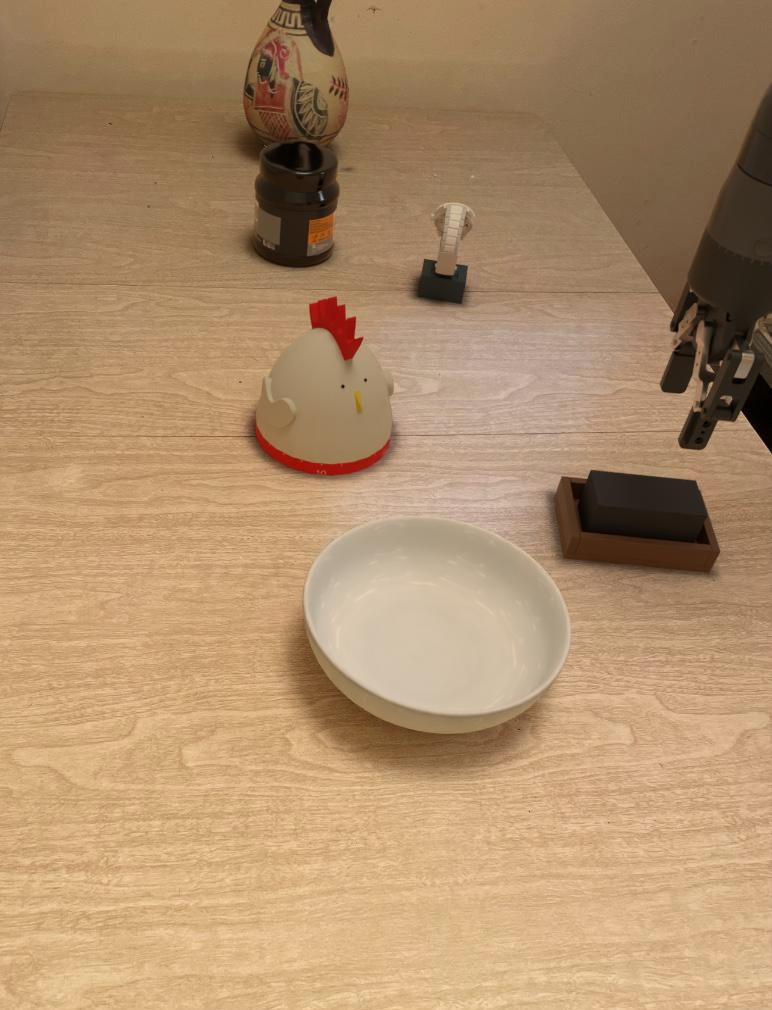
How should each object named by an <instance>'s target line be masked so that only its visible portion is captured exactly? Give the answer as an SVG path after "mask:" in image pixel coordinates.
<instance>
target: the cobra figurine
mask: <svg viewBox="0 0 772 1010" xmlns="http://www.w3.org/2000/svg"><path fill="white" fill-rule="evenodd" d="M430 221H433V223H434V226H435V229H436V233H437V237H438V238H440V243H439V247H438V248H439V249H438V254H437V260H435V259H428V258H423V263H422V268H421V272H420V279H419V284H418V290H417V297H416V298H423V299H428V300H434V301H440V302H447V303H453V304H459V305H462V304H463V299H464V294H465V289H466V284H467V278H468V269H469V265H466V264H459V263H457V262H458V258H459V253H458V252H459V251H458V250H459V247H460V242H461V241H464V239H465V238H466V236H467V235H468V234H469V233H470V232H471V231H472V230H473V228H474V225H475V222H476V214H475V212H474V211H473V209H472V208H471V207H469V206H468V205H466V204H463V203H460V202H446V203H442V204H441V205H439V206H438V207H436V208H435V211H434V213H431V214H430Z"/></svg>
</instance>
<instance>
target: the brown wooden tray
mask: <svg viewBox="0 0 772 1010" xmlns="http://www.w3.org/2000/svg"><path fill="white" fill-rule="evenodd" d="M586 481H587V478H586V477H585V478H584V477H576V476H575V477H574V476H565V475H561V477H560V479H559V482H558V486H557V488H556V491H555V493H554V497H553V499H554V505H555V511H556V518H557V523H558V529H559V530H558V531H559V535H560V541H561V547H562V548H561V549H562V553H563V558H564V559H568V560H579V561H586V562H587V561H589V562H597V563H598V562H599V563H607V564H608V563H610V564H619V565H626V566H627V565H628V566H638V567H647V568H648V567H649V568H657V569H668V570H678V571H688V572H698V573H708V574H709V573H710V572H711V571H712V569H713V567H714V565H715V563H716V562H717V559H718V557H719V556H720V554H721V549H720V545H719V543H718V539H717V536H716V532H715V530H714V527H713V524H712V521H711V518H710V514H709V511H708V509H707V505H706V502H705V500H704V496H703V493H702V491H701V489H699V491H700V494H701V497H702V500H703V503H704V506H705V509H706V512H707V515H708V516H707V518H706V520H705V522H704V524H703V526H702V528H701V530H700V532H699V534H698V536H697V538H696V540H695V542H694V543H686V542H676V541H667V540H657V539H647V538H637V537H627V536H617V535H607V534H597V533H588V532H582V527H581V522H580V516H579V511H578V506H577V505H578V503H579V500H580V497H581V495H582V492H583V489H584V486H585V484H586Z"/></svg>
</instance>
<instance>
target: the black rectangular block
mask: <svg viewBox="0 0 772 1010" xmlns="http://www.w3.org/2000/svg"><path fill="white" fill-rule="evenodd" d="M586 479H587V481H586V484H585V486H584V489H583V492H582V495H581V497H580V500H579V503H578V505H577V506H578V511H579V516H580V522H581V527H582V532H588V533H597V534H607V535H617V536H627V537H637V538H647V539H657V540H667V541H676V542H686V543H694V542H695V540H696V538H697V536H698V534H699V532H700V530H701V528H702V526H703V524H704V522H705V520H706V518H707V516H708V515H709V514H708V515H707V512H708V511H707V512H706V509H705V506H704V503H703V500H702V497H701V494H700V491H699V490H700V488H699V485H698V482H697V480H695V479H686V478H676V477H675V478H674V477H668V476H667V477H666V476H655V475H647V474H637V473H626V472H617V471H608V470H607V471H606V470H596V469H590V471H589V473H588V476H587V478H586Z"/></svg>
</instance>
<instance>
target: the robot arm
mask: <svg viewBox="0 0 772 1010" xmlns="http://www.w3.org/2000/svg"><path fill="white" fill-rule="evenodd" d="M740 145H741V146H740V148H739V151H738V153H737V156H736V159H735V160H734V164H732V167H731V169H730V171H729V172H728V174H727V176H726V178H725V180H724V181H723V183H722V186H721V187H720V190H719V192H718V194H717V197H716V200H715V202H714V205H713V208H712V210H711V212H710V215H709V217H708V219H707V220H708V221H707V223H706V225H705V227H704V231H703V232H702V236H701V238H700V241H699V242H698V246H697V248H696V251H695V254H694V256H693V259H692V261H691V264H690V266H689V269H688V272H687V278H686V279H687V280H686V283H685V285H684V287H683V290H682V292H681V296H680V297H679V300H678V303H677V306H676V308H675V310H674V313H673V315H672V318H671V321H670V323H669V331H670V333H675V334H674V335H673V337H672V339H671V344H670V346H671V350H672V352H671V354H670V357H669V359H668V362H667V365H666V367H665V369H664V372H663V374H662V376H661V379H660V382H659V387H660V390H661V392H663V393H668V394H676V395H677V394H678V395H681V394H684V393H685V392H686V391H687V390H688V387H689V384H690V382H691V380H692V379H693V381H695V382H696V388H695V393H694V400H693V404H692V405H691V408H690V410H689V412H688V415H687V417H686V419H685V422H684V424H683V427H682V428H681V431H680V433H679V435H678V437H677V442H678V445H679V447H680V449H683V450H693V451H702V450H704V449H706V447H707V445H708V443H709V442H710V439H711V437H712V435H713V433H714V431H715V429H716V426H717V425H718V422H719V421H720V422H729V423H735V422H736V421H737V420H738V418H739V415H740V413H741V412H742V409H743V407H744V405H745V403H746V401H747V399H748V397H749V395H750V393H751V391H752V389H753V386H754V384H755V383H756V381H757V378H758V376H759V374H760V372H761V370H762V368H763V366H764V363H765V358H766V355H765V352H764V351H754V350H752V349H751V346H752V344H753V338H754V333H755V330H756V325H757V322H758V321H760V320H761V319H762V318H764V317H767V316H768V315H770V314H772V80H771V81H769V83H768V84H767V86H766V87H765V89H764V90H763V93H762V94H761V97H760V98H759V101H758V103H757V105H756V108H755V110H754V113H753V115H752V117H751V120H750V123H749V125H748V127H747V130H746V133H745V135H744V138H743V140H742V143H741V144H740ZM687 311H689V312H688V313H687ZM686 313H687V314H686ZM707 366H717V367H719V368H718V371H717V372H714V371H709V369H708V367H707ZM711 383H712V384H711ZM710 384H711V387H710V389H709V386H710ZM708 390H709V391H708Z"/></svg>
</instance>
